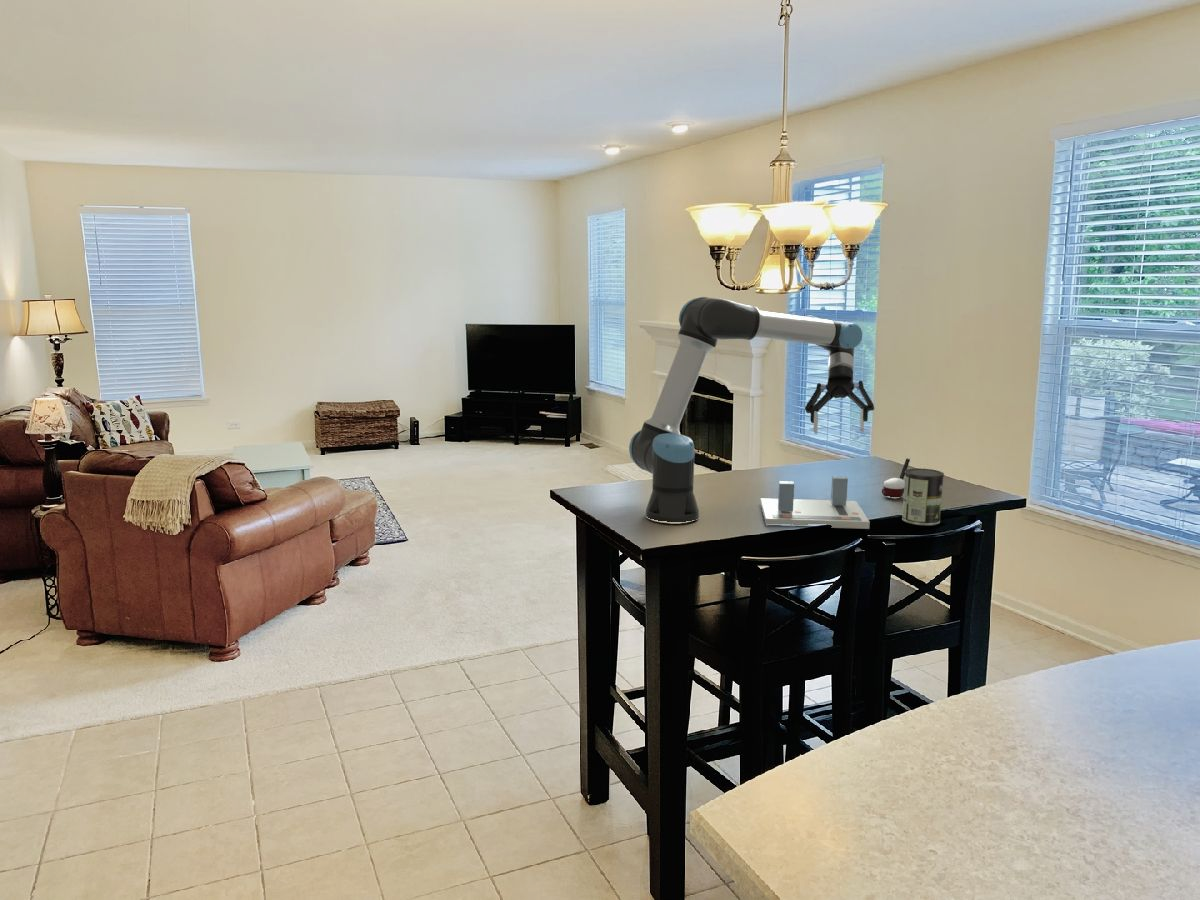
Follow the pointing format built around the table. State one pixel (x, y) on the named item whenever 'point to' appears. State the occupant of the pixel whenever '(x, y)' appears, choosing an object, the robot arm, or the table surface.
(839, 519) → the switch panel
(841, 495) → the right switch tab
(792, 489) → the left switch tab
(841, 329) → the robot arm
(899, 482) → the cocoa
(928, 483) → the coffee can
